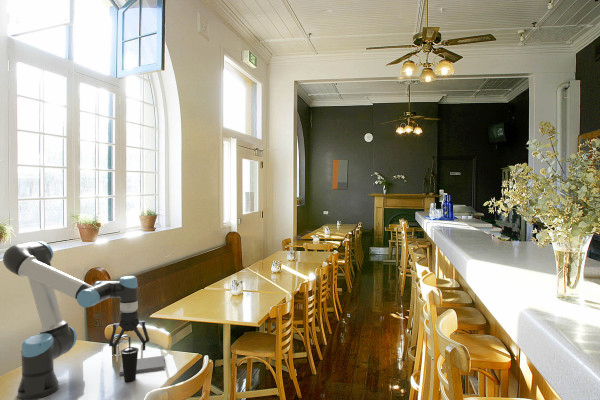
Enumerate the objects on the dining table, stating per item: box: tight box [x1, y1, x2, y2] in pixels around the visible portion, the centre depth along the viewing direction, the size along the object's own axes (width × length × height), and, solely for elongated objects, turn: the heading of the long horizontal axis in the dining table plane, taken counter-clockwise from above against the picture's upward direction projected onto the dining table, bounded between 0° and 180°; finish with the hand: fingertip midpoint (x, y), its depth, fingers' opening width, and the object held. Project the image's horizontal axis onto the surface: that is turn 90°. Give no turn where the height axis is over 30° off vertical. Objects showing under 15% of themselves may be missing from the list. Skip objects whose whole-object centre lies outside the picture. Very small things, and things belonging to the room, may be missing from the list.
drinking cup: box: [120, 335, 139, 383], centre depth 195 cm, size 8×8×20 cm
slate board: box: [119, 355, 165, 376], centre depth 210 cm, size 20×14×2 cm
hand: (129, 359), depth 195 cm, fingers open, 10 cm apart
